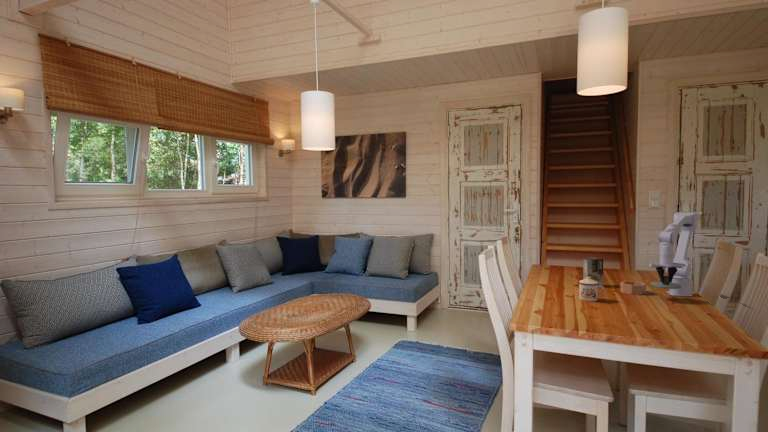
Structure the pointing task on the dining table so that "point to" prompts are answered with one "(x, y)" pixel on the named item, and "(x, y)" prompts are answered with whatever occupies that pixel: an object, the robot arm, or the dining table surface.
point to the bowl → (633, 287)
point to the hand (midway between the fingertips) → (665, 282)
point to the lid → (666, 284)
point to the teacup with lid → (589, 289)
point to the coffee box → (593, 269)
